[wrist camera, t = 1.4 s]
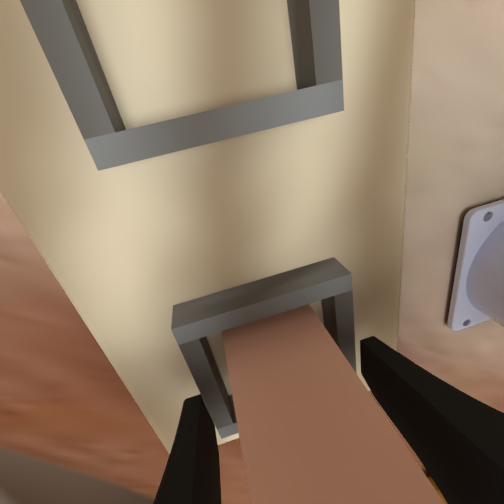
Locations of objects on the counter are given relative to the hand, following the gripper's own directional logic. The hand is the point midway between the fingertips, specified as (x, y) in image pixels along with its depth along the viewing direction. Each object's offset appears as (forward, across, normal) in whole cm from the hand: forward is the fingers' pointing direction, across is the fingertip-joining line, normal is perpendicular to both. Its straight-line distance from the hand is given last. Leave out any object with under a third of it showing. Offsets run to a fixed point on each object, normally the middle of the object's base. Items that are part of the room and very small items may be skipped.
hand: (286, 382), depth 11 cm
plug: (+2, 0, 0) cm, 2 cm away
